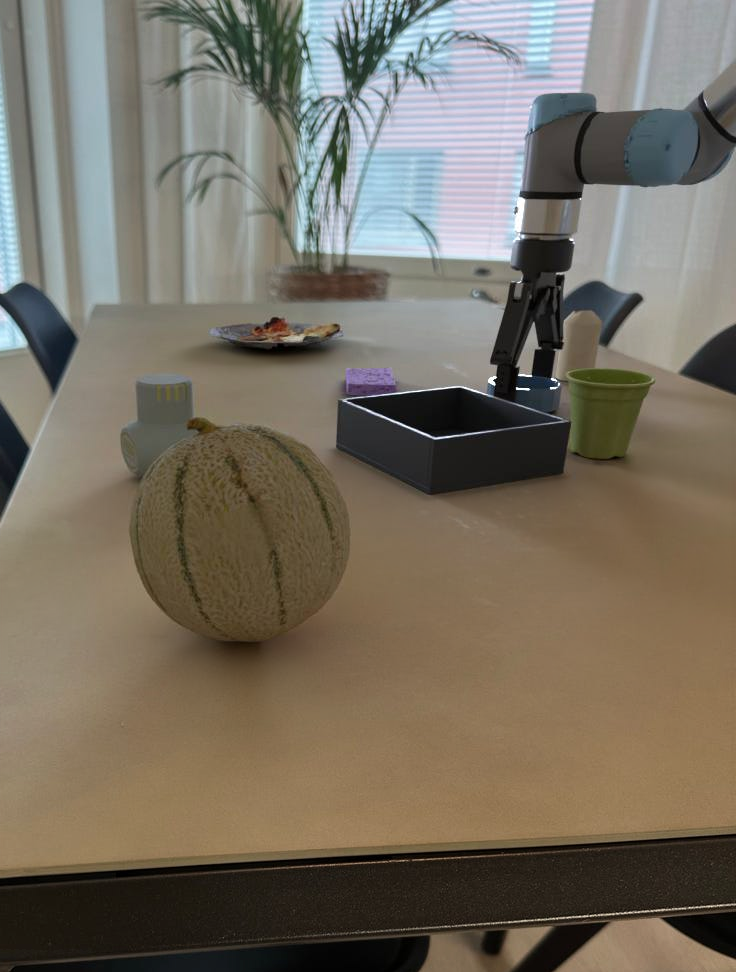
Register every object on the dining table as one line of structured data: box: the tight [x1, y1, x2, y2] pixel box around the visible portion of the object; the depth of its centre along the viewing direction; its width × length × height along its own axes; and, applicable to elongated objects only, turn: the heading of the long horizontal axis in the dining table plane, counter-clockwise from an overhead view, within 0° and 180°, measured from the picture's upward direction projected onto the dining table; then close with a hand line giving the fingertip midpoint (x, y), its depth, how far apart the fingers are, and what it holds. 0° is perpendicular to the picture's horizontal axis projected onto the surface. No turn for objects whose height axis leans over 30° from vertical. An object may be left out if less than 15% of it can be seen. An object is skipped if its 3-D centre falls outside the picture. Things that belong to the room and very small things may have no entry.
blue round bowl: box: [486, 374, 564, 414], centre depth 123 cm, size 10×10×4 cm
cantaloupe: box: [128, 416, 351, 643], centre depth 61 cm, size 15×15×15 cm
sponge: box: [345, 367, 397, 397], centre depth 135 cm, size 7×13×2 cm, turn 176°
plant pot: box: [566, 367, 656, 460], centre depth 103 cm, size 9×9×9 cm
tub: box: [335, 385, 571, 495], centre depth 101 cm, size 19×17×6 cm
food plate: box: [207, 316, 344, 350], centre depth 168 cm, size 25×23×4 cm
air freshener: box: [119, 373, 198, 479], centre depth 95 cm, size 11×8×10 cm
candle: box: [555, 309, 603, 382], centre depth 139 cm, size 6×6×10 cm
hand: (520, 406), depth 124 cm, fingers open, 13 cm apart
